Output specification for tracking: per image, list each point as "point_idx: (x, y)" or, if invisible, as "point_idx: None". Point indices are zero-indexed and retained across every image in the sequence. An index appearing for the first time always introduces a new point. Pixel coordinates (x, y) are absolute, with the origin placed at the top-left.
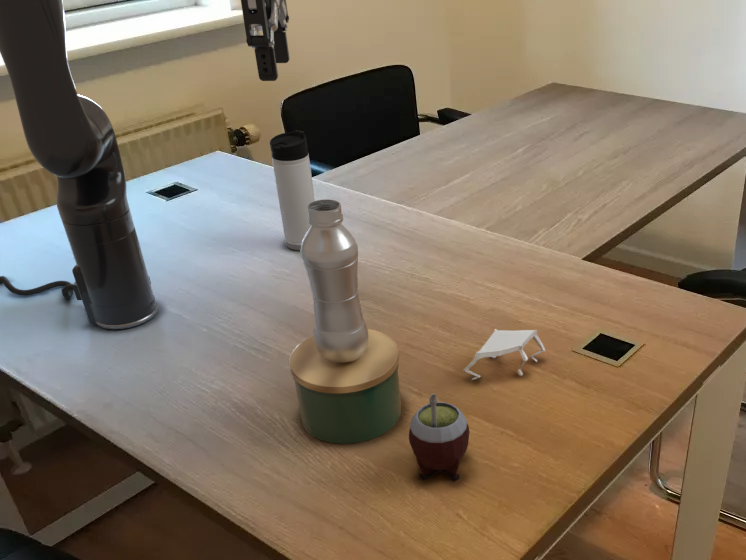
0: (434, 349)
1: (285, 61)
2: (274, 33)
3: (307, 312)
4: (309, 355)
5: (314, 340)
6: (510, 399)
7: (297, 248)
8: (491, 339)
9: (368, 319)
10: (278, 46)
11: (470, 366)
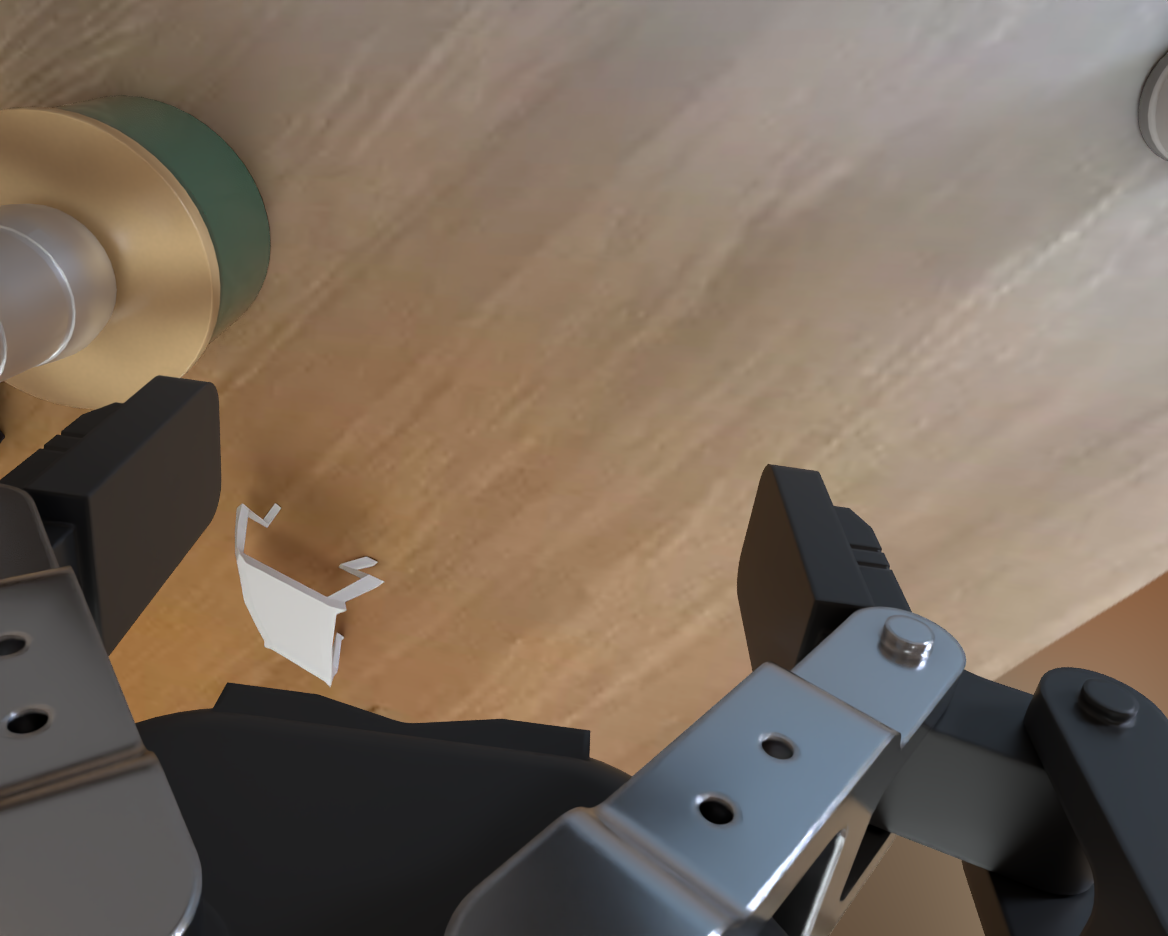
0: (413, 443)
1: (741, 562)
2: (796, 660)
3: (674, 112)
4: (53, 170)
5: (2, 205)
6: (199, 563)
7: (1151, 77)
8: (294, 594)
9: (593, 295)
10: (768, 599)
11: (236, 524)
